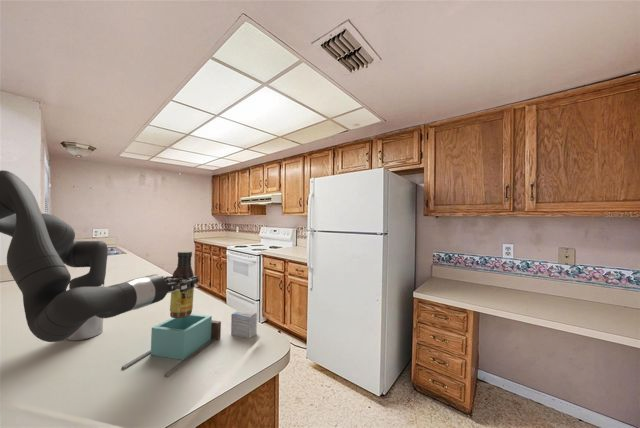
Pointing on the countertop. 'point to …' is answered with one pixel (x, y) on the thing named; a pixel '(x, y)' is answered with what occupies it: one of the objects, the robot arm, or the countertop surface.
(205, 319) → the holder
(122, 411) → the countertop surface
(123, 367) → the track board
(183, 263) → the sauce bottle
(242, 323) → the medicine box
